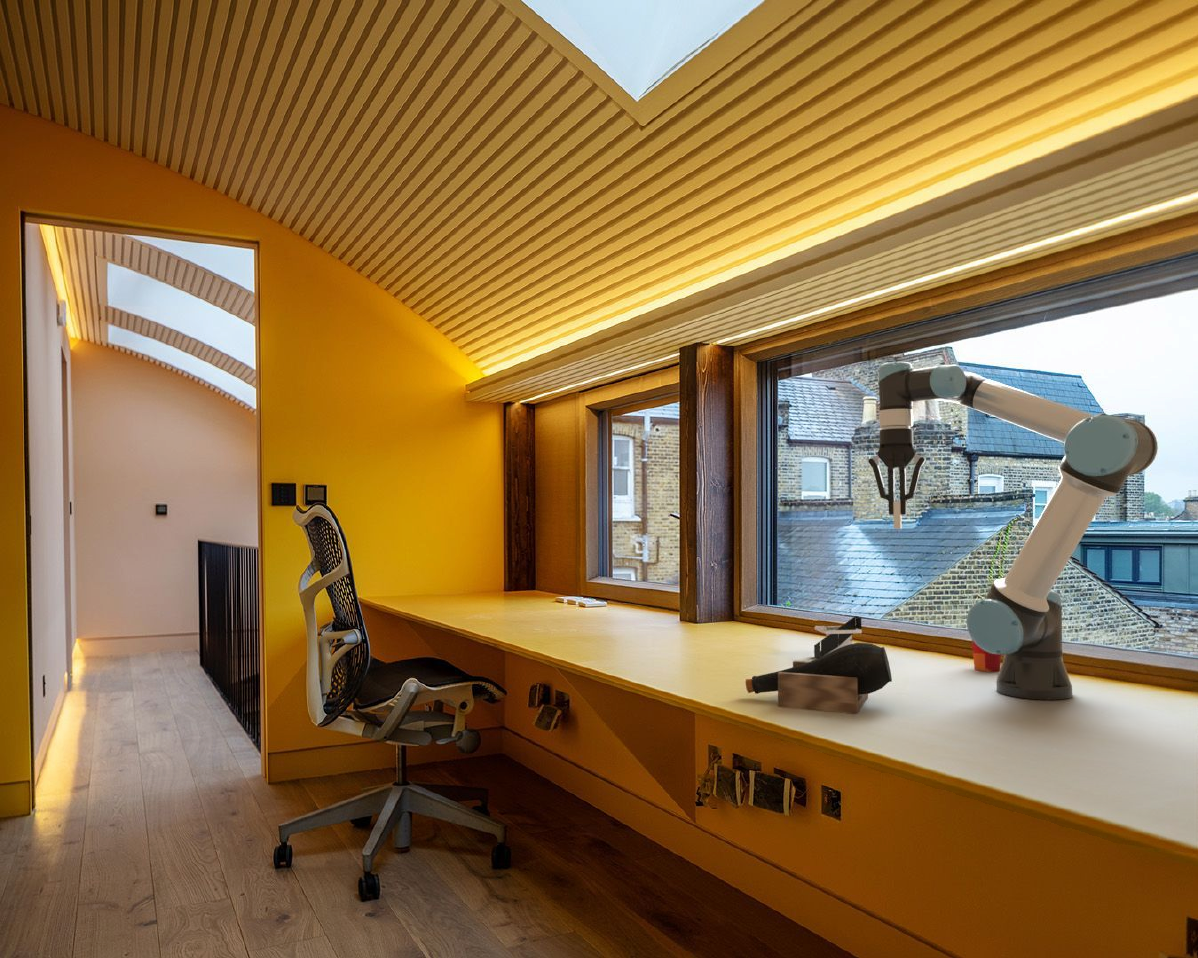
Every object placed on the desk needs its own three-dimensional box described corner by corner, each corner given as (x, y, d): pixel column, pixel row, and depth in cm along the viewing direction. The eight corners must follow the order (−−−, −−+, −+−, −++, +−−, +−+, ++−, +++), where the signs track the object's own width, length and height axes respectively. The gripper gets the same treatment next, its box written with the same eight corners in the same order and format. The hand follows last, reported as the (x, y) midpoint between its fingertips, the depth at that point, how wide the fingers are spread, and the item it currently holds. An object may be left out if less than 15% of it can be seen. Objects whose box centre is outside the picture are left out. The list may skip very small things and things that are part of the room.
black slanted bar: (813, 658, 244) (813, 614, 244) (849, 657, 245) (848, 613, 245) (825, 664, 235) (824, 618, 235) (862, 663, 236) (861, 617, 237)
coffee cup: (1007, 668, 225) (1006, 609, 225) (1002, 673, 218) (1001, 612, 218) (972, 665, 230) (971, 607, 230) (966, 670, 223) (965, 610, 223)
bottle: (879, 638, 180) (737, 661, 190) (891, 691, 177) (746, 712, 187) (883, 638, 189) (748, 661, 199) (895, 689, 186) (757, 709, 197)
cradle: (868, 697, 193) (867, 665, 193) (856, 713, 178) (856, 678, 178) (794, 691, 199) (794, 660, 199) (778, 706, 185) (777, 673, 185)
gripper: (926, 428, 208) (928, 528, 208) (869, 430, 214) (871, 528, 213) (924, 426, 201) (926, 529, 201) (865, 428, 207) (866, 529, 206)
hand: (897, 528), depth 207 cm, fingers closed
